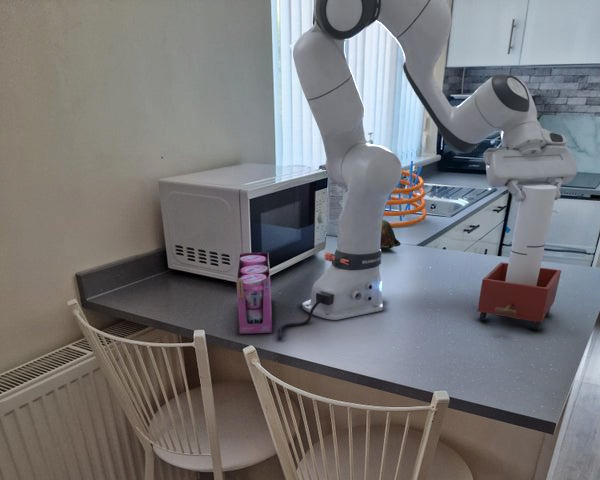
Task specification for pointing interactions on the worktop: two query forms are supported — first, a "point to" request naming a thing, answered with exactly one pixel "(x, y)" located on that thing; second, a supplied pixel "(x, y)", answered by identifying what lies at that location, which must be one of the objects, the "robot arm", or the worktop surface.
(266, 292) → the gum box
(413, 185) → the orange spiral coil
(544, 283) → the toy cart
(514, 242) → the cylindrical container
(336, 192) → the juice carton
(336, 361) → the worktop surface
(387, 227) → the bronze bell
